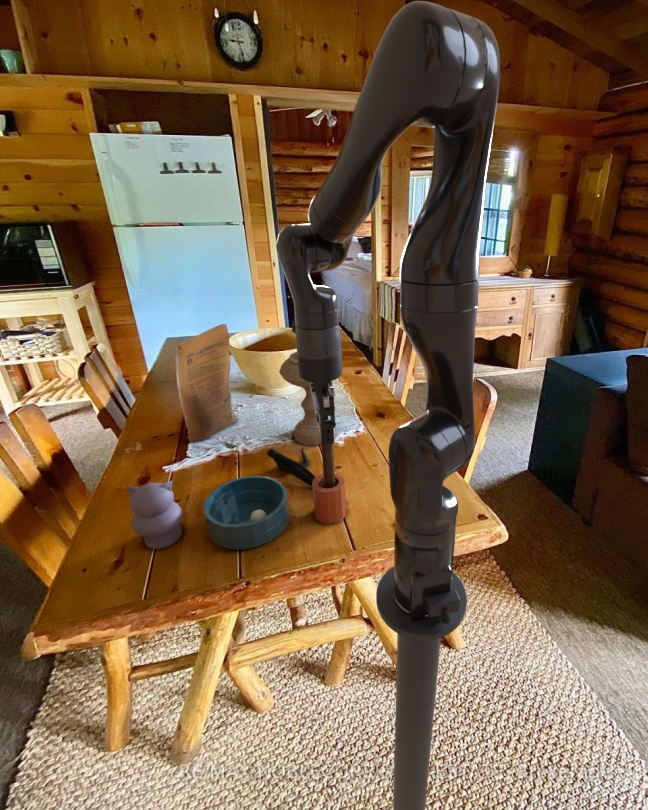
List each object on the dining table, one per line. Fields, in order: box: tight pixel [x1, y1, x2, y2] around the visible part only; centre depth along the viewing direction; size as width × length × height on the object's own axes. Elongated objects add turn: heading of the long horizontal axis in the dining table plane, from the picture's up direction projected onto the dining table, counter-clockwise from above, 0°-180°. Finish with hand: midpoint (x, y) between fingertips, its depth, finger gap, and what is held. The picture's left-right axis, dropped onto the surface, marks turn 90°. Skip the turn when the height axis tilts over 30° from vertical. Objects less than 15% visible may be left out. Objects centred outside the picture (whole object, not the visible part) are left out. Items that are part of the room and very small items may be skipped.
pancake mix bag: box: [174, 323, 237, 443], centre depth 115 cm, size 7×19×28 cm, turn 155°
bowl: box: [202, 475, 290, 550], centre depth 87 cm, size 15×15×6 cm
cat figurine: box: [126, 480, 183, 550], centre depth 82 cm, size 8×8×12 cm
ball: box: [251, 510, 266, 522], centre depth 86 cm, size 3×3×3 cm
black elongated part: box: [266, 447, 317, 488], centre depth 101 cm, size 8×9×25 cm
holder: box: [311, 472, 347, 525], centre depth 89 cm, size 6×6×8 cm
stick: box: [320, 428, 336, 489], centre depth 86 cm, size 2×2×20 cm
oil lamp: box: [278, 318, 336, 446], centre depth 110 cm, size 15×15×40 cm
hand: (325, 432), depth 82 cm, fingers open, 8 cm apart
